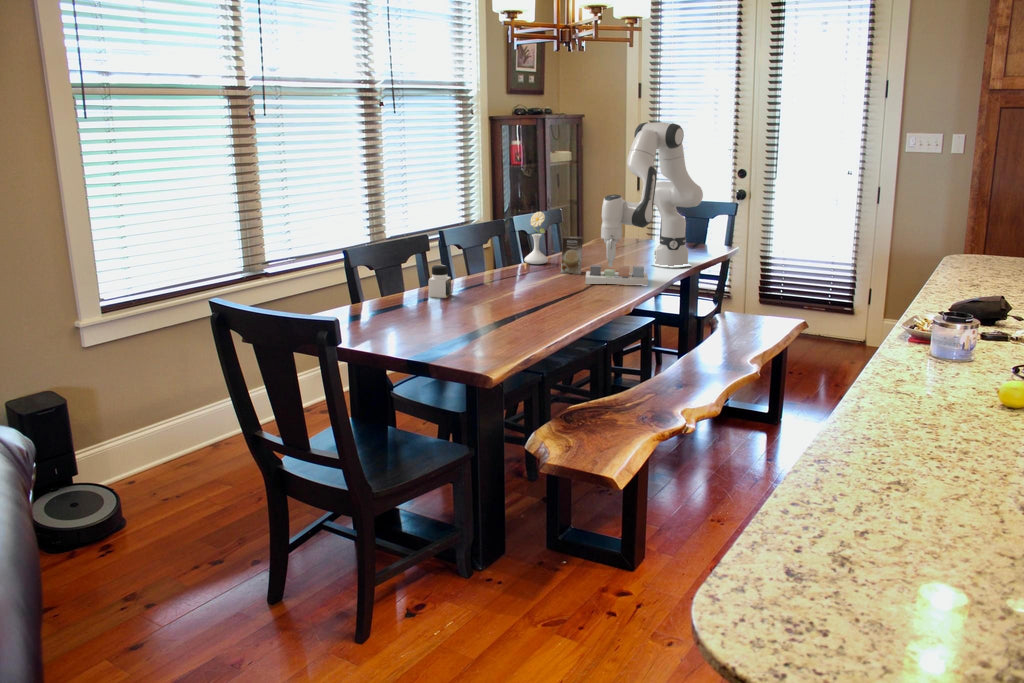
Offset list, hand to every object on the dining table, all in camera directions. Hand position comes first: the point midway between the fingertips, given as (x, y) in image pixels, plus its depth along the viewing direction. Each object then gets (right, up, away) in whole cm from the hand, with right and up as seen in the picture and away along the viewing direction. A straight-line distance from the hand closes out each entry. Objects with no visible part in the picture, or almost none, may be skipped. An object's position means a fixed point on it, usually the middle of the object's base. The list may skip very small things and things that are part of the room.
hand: (610, 266), depth 366 cm
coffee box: (-15, -1, +20) cm, 26 cm away
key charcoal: (-6, -4, +1) cm, 8 cm away
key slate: (+12, -5, 0) cm, 13 cm away
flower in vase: (-30, +4, +40) cm, 51 cm away
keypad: (+3, -7, +1) cm, 7 cm away
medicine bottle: (-70, -14, -29) cm, 77 cm away
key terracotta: (+6, -5, 0) cm, 7 cm away
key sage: (0, -6, +1) cm, 6 cm away
